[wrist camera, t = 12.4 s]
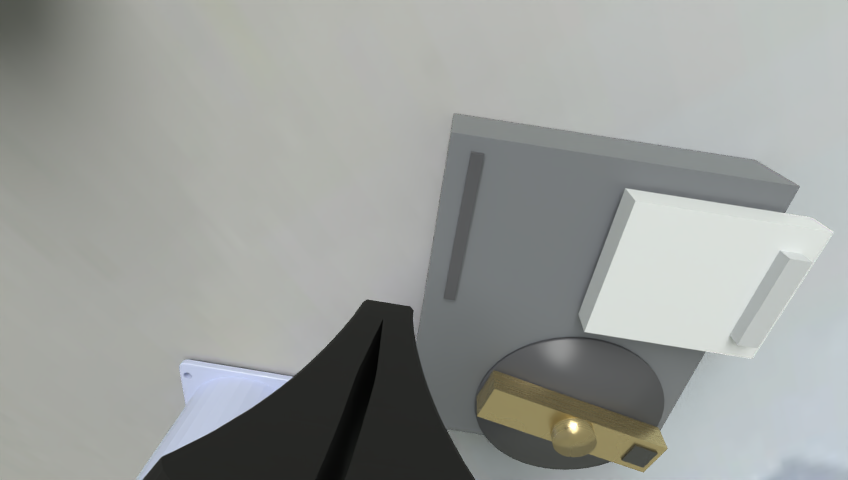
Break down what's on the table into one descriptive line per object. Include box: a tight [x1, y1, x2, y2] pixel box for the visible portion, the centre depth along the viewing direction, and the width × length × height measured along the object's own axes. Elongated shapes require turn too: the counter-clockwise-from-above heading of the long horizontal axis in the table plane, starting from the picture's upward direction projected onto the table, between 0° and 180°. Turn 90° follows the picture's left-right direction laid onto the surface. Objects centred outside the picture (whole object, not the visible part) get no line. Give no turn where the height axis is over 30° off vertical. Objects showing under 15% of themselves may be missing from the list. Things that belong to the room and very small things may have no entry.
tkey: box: [477, 370, 668, 472], centre depth 22 cm, size 9×2×2 cm, turn 69°
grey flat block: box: [416, 113, 800, 470], centre depth 22 cm, size 18×13×3 cm
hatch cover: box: [578, 188, 834, 359], centre depth 18 cm, size 6×7×2 cm
